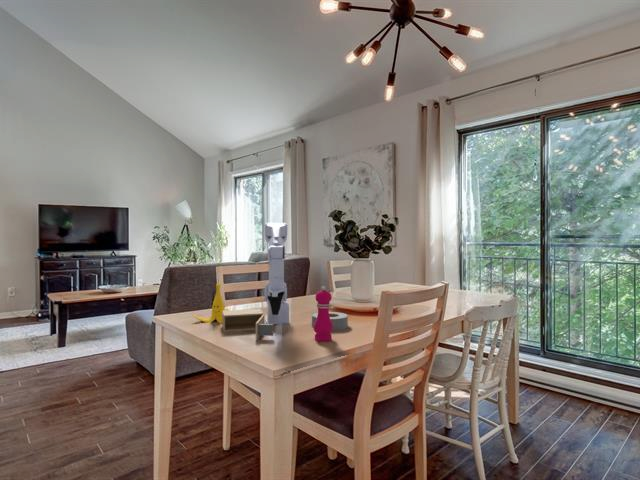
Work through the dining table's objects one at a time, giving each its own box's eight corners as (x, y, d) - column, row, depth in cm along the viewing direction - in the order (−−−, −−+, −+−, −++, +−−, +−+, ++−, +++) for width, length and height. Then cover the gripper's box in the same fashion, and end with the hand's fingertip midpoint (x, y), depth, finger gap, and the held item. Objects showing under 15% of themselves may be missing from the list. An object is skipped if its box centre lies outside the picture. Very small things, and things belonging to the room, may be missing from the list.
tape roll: (323, 321, 177) (323, 310, 177) (353, 325, 170) (353, 313, 169) (304, 328, 164) (305, 316, 164) (336, 333, 156) (337, 320, 156)
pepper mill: (316, 342, 142) (316, 287, 141) (311, 337, 149) (311, 285, 148) (335, 341, 144) (335, 287, 143) (329, 336, 151) (329, 284, 150)
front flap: (263, 329, 160) (263, 314, 160) (277, 329, 160) (278, 314, 159) (255, 339, 144) (255, 323, 144) (272, 339, 144) (272, 323, 144)
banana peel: (233, 324, 169) (234, 286, 169) (192, 323, 171) (192, 285, 171) (245, 316, 185) (246, 281, 185) (207, 315, 188) (207, 280, 187)
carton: (260, 323, 170) (260, 308, 170) (263, 329, 161) (263, 313, 160) (222, 326, 165) (222, 310, 165) (223, 331, 156) (223, 315, 156)
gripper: (285, 279, 142) (285, 316, 142) (287, 274, 156) (287, 308, 157) (266, 279, 141) (266, 316, 142) (270, 274, 156) (269, 308, 156)
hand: (276, 312), depth 149 cm, fingers open, 7 cm apart
